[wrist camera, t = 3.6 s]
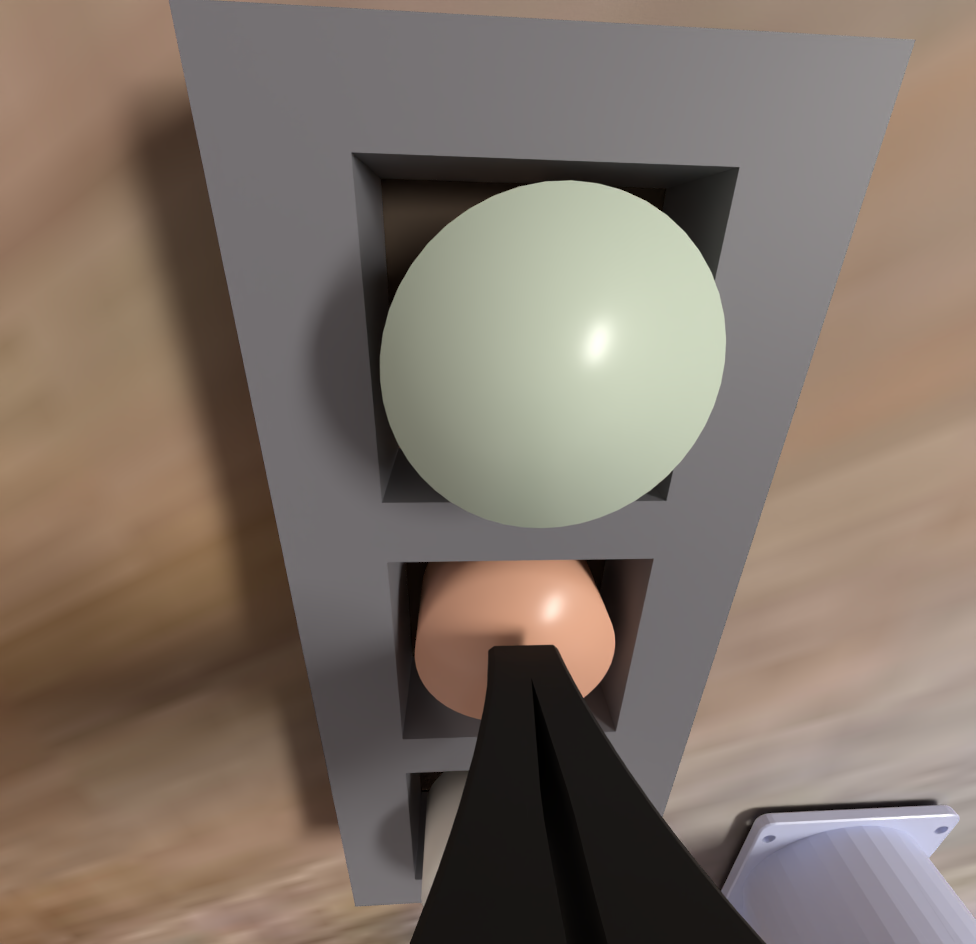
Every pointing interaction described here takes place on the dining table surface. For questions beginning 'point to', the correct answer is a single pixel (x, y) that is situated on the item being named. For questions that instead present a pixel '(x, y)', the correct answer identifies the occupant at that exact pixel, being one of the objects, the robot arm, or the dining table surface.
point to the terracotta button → (507, 623)
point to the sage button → (552, 354)
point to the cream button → (440, 822)
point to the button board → (365, 305)
